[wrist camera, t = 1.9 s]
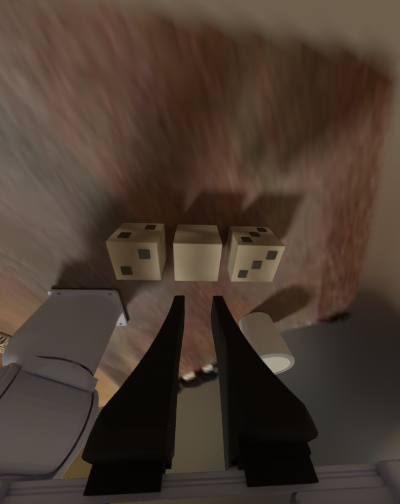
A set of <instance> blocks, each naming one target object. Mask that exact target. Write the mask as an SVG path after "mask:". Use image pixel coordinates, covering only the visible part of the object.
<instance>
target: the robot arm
mask: <svg viewBox="0 0 400 504" xmlns="http://www.w3.org/2000/svg"><path fill="white" fill-rule="evenodd" d="M48 294H49V296H50V297H49V298H48V299H47V300H46V301H45V302H44V303H43V304H42V305H41V306H40V307H39V308H38V309H37V311H36V312H35V313H34V314H33V315H32V316H31V317H30V318H29V319H28V320H27V321H26V322H25V323H24V324H23V325H22V326H21V327H20V328H19V329H18V330H17V331H16V332H15V333H14V335H13V336H12V337H11V339H10V340H9V342H8V344H7V345H6V348H5V350H4V352H3V356H2V364H3V367H1V368H0V504H108V503H123V502H138V501H157V500H173V499H191V498H208V497H224V496H241V495H259V494H275V493H292V494H291V500H290V503H286V504H400V459H392V460H383V461H378V462H375V463H373V464H353V465H332V466H313V464H312V462H311V459H310V456H309V455H311V451H310V448H309V446H308V443H307V442H309V441H311V440H313V439H315V438H316V437H317V436H318V431H317V429H316V426H315V424H314V422H313V420H312V418H311V416H310V414H309V412H308V411H307V409H306V407H305V405H304V404H303V403H302V402H301V401H300V400H299V399H298V398H297V397H296V396H295V395H294V394H293V393H292V392H291V391H290V390H289V389H288V388H287V387H286V386H285V385H284V384H283V383H282V382H281V381H280V379H279V378H278V377H277V376H276V375H275V374H274V373H273V372H272V370H271V369H270V368H269V367H268V366H267V365H266V364H265V362H264V361H263V360H262V359H261V358H260V356H259V355H258V354H257V352H256V351H255V350H254V349H253V347H252V346H251V345H250V343H249V342H248V340H247V339H246V337H245V336H244V334H243V333H242V331H241V330H240V328H239V327H238V325H237V323H236V322H235V320H234V318H233V317H232V315H231V313H230V311H229V309H228V307H227V305H226V303H225V301H224V298H223V297H222V296H213V302H212V309H211V324H212V333H213V339H214V345H215V351H216V357H217V363H218V372H219V383H220V397H221V409H222V425H223V441H224V459H225V469H226V471H212V472H192V473H173V474H165V472H166V469H171V465H172V459H173V457H174V447H175V427H176V408H177V390H178V373H179V361H180V354H181V347H182V339H183V332H184V316H185V296H175V297H174V300H173V303H172V306H171V308H170V311H169V313H168V315H167V317H166V319H165V321H164V323H163V325H162V327H161V329H160V331H159V333H158V335H157V336H156V338H155V340H154V341H153V343H152V345H151V346H150V348H149V349H148V351H147V352H146V354H145V355H144V357H143V358H142V360H141V361H140V362H139V364H138V365H137V367H136V368H135V369H134V371H133V372H132V373H131V375H130V376H129V377H128V378H127V380H126V381H125V382H124V384H123V385H122V386H121V387H120V389H119V390H118V391H117V392H116V393H115V394H114V396H113V397H112V398H111V399H110V400H109V401H108V403H107V404H106V405H105V406H104V407H103V409H102V410H101V412H100V413H99V415H98V417H97V419H96V416H97V412H98V402H99V396H98V392H97V390H95V386H96V384H97V382H98V379H96V378H94V377H93V376H94V374H95V372H96V370H97V367H98V365H99V363H100V360H101V358H102V356H103V353H104V351H105V349H106V347H107V344H108V342H109V340H110V337H111V335H112V333H113V331H114V328H115V326H125V325H127V323H128V322H127V318H126V315H125V312H124V309H123V306H122V302H121V299H120V296H119V293H118V291H116V290H70V289H51V290H49V291H48ZM95 419H96V421H95ZM94 422H95V423H94ZM87 439H88V440H87ZM86 441H87V443H86ZM85 443H86V446H85V448H84V451H83V454H82V459H83V460H84V461H86V462H88V463H90V464H92V468H91V471H90V475H89V477H88V478H73V479H62V477H63V475H64V474H65V472H66V470H67V469H68V467H69V466H70V464H71V463H72V461H73V460H74V459H75V458H76V457H77V455H78V454H79V452H80V451H81V449H82V448H83V446H84V444H85Z"/></svg>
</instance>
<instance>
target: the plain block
mask: <svg viewBox="0 0 400 504" xmlns="http://www.w3.org/2000/svg"><path fill="white" fill-rule="evenodd" d="M173 249H174V270H175V280H177V281H217V279H218V272H219V265H220V257H221V250H222V242H221V239H220V235H219V232H218V228H217V225H185V224H177V228H176V233H175V238H174V242H173Z"/></svg>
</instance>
